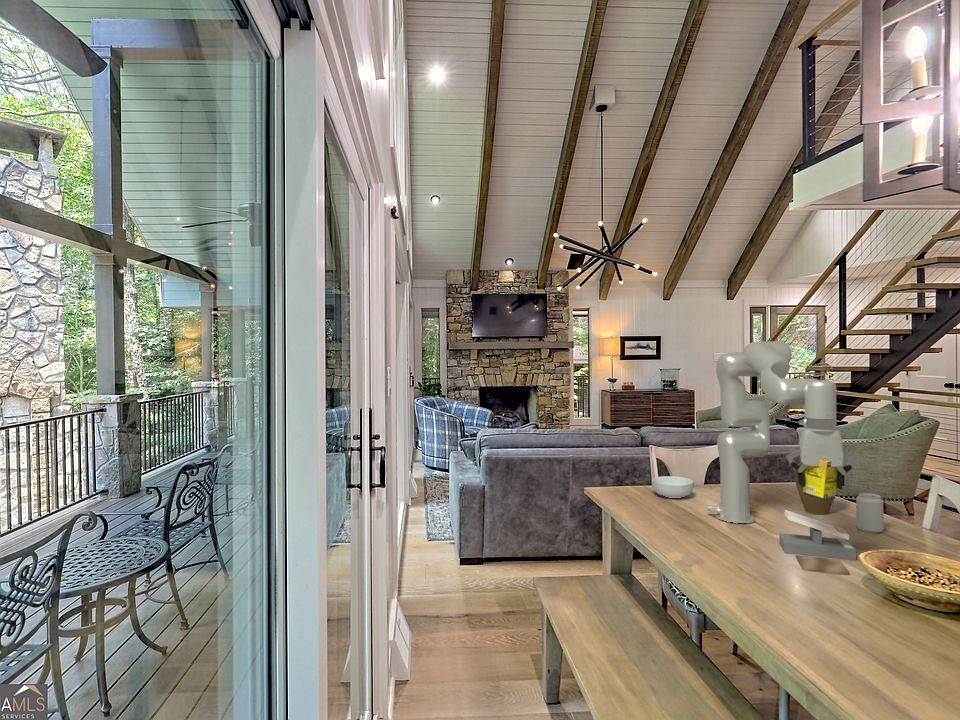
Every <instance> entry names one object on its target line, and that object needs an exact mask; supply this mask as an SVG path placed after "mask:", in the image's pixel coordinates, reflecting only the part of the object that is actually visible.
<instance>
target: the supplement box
mask: <svg viewBox="0 0 960 720" xmlns="http://www.w3.org/2000/svg"><path fill="white" fill-rule="evenodd" d="M837 476H838V469H837V468H836V467H831V461H824V460H820V462H819V466H807V467H806V468H805V487H803V495H807V496H810V497H813V498H816V499H819V500H822V501H824V500H827V499H834V500H835V499H836V493H837V489H836V486H837Z"/></svg>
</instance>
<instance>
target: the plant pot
mask: <svg viewBox="0 0 960 720" xmlns="http://www.w3.org/2000/svg"><path fill="white" fill-rule="evenodd" d="M792 471H793V476H794V481H795V485H796V488H797V492H798V497H800V501H801V504H802V506H803V508H804V511H805V512H806V513H808V514H812V515H819V516H822V515H823V516H826V515H829V513H830V511H831V509H832V506H833V503H834V500H835V498H834V499H827V500H824V501H822V500H819V499H816V498H813V497H810V496H807V495H803V487H801V486H800V483H798V471H797V470H796V469H795V468H794V467H793V468H792ZM803 471H804V473H805V469H804V470H803ZM837 489H838V488H837V486H836V490H837Z"/></svg>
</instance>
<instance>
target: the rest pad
mask: <svg viewBox="0 0 960 720" xmlns="http://www.w3.org/2000/svg"><path fill="white" fill-rule="evenodd" d="M795 559H796V560H797V562H798V564H799V566H800V568H801V570H802V571H805V572H807V571H808V572H817V573H825V574H835V575H836V574H837V575H843V576H850V575H851V572H850V571H849V570H848V568H847V566H845V564H844V563H843V561H842V559H838V558H828V557H818V556H808V555H798V554H795Z"/></svg>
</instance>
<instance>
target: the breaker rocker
mask: <svg viewBox="0 0 960 720" xmlns="http://www.w3.org/2000/svg"><path fill="white" fill-rule="evenodd" d="M784 515H785V517H786V519H787V520H789V521H791V522H794V523H796V524H797V523H798V524H800V525H803V526H806V527H809V528H810V527H812V528H815V529H817V530H820V531H822V533H823V532H824V533H827V534H829V535H834V536H836V537H837V538H838V537H839V538H840V539H847V540H848V541H849V539H850V534H849V533H847V531H846V530H845V529H844V528H842V527H839V526H837V525H832V524H829V523H827V522H824V521H820V520H817V519H814V518H812V517H808V516H804V515H803V514H799V513H797V512H793V511H790V510H787V509H785V510H784Z"/></svg>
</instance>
